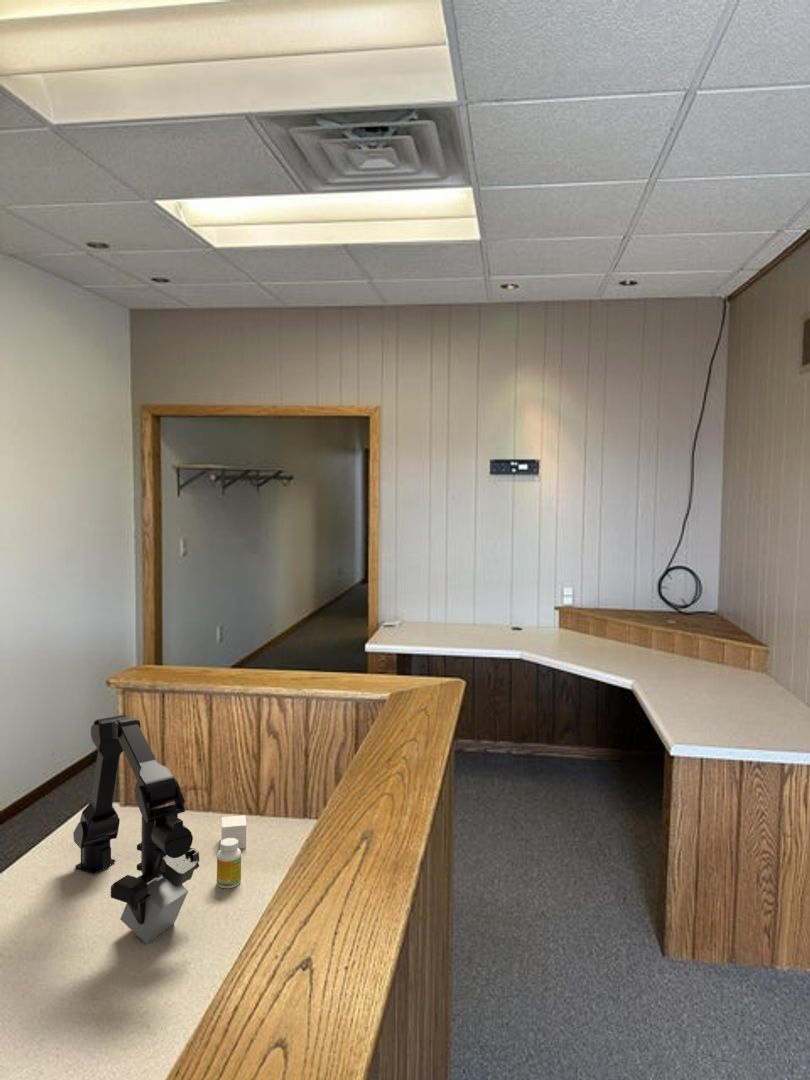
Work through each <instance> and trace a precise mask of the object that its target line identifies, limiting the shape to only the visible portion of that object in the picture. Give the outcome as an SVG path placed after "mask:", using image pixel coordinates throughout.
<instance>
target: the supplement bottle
mask: <svg viewBox="0 0 810 1080" xmlns="http://www.w3.org/2000/svg"><path fill="white" fill-rule="evenodd" d="M219 848H220V850H218V852H217V854H216V885H217V886H218V887H219V888H221V889H232V888H235V887H237V886H239V885H240V884H241V880H242V851H241V848H240V849H239V848H238V840H237V839H235V838H226V839H223V840H222V841H220V845H219ZM239 883H240V884H239Z"/></svg>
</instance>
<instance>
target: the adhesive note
mask: <svg viewBox="0 0 810 1080" xmlns="http://www.w3.org/2000/svg"><path fill="white" fill-rule="evenodd" d="M246 817H247V816H246V815H245V814H244V815H243V814H242V815H234V816H222V817H221V838H220V839H221V841H222V840H223V839H226V838H235V839H237V840H238V848H239V849H240V850H241V849H246V848H247V821H246V820H247V819H246ZM221 841H220V842H221Z"/></svg>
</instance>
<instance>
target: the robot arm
mask: <svg viewBox="0 0 810 1080" xmlns="http://www.w3.org/2000/svg"><path fill="white" fill-rule="evenodd" d="M90 737H91V741H92V743H93V744H94V746H95V748H96V750H97V755H96V763H95V768H94V769H95V771H94V779H93V785H92V792H91V800H90V802H89V804H88V805H87V806H86V807H85V808H84V809H83V810H82V812H81V816H80V819H79V822H78V823H77V825H76V827H75V829H74V831H73V833H72V834H73V842H74V843H75V845H77V846H78V848H79V849H80V862H79V863H77V864H76V865H75V866H74V868H75V869H77V868H78V870H80V869H81V870H80V871H83V870H84V871H83V872H86V871H87V872H86V873H89V872H91V873H90V874H92V873H96V872H97V873H99V872H101V871H102V870H101V869H103V868H104V869H106V868H108V867H109V866H108V865H110V864H112V863H113V864H115V863H116V859H114V858H112V847H111V840H113V839H117V838H118V834H119V827H120V821H121V820H120V818H119V814H118V813H117V811H116V809H115V807H114V806H113V803H114V796H115V790H116V784H117V778H118V770H119V766H120V765H119V764H120V757H121V754H122V753H124V756H125V757H126V759H127V761H128V764H129V766H130V767H131V770H132V772H133V775H134V776H135V780H136V783H135V787H134V790H133V791H134V798H135V801H136V804H137V807H138V808H139V812H140V815H141V842H140V843H138V844H136V850H137V851H140V852H141V853H140V854H141V856H140V858H141V859H140V861H141V862H139V863H137V864H136V870H137V871H140V872H141V875H139V876H138V877H135V876H132V875H130V874H126V875H125V876H122V878H120V879H118V880H117V881H115V882H113V883H112V884H111V886H110V898H111V899H114V900H118V901H120V902H123V903H126V904H128V905H129V907H130V909H131V911H132V913H133V915H134V916H135V918H136V920H137V922H138V924H141V925H142V924H143V923H144V918H145V902H146V900H147V899H148V898H149V897H150V896H151V895H150V894H147V892H148V885H147V884H149V883H151V882H152V881H154V880H155V879H157V878H159V877H160V876H163V877H164V878H166V879H167V880H168V881H170V882H171V884H172V885H173V886H176V887H179V886H181V885H184V883H186V882H187V881H190V880H191V879H192V876H193V874H194V871H195V870H197V869H198V868H200V864H199V862H200V852H199V850H198V849H196V848H193V847H191V846H192V844H193V840H194V837H193V834H192V831H191V830H190V829H189V828H188V827H186V826H185V825H184V820H182V818H179V816H178V815H179V814H182V813H185V812H186V809H185V805H184V804H186V801H185V797H184V795H183V792H182V790H181V786H180V784H179V782H178V780H177V779H176V778H175V777H174V775H173V774H172V771H170V769H169V767H167V766H164V765H163V764H160V763H159V762H158V761H157V758H156V757H155V755H154V753H153V751H152V748H151V747H150V745H149V742H148V741H147V739H146V737H145V735H144V733H143V731H142V728H141V722H140V720H139V718H138V717H135V716H133V717H128V715H126V714H118V715H115V716H109V717H104V718H98V719H96V720H94V721H93V724H92V725H91V727H90ZM171 803H173V804H171ZM168 804H171V805H168ZM164 805H167V806H164ZM114 862H115V863H114ZM113 864H112V865H113ZM107 866H108V867H107ZM110 866H111V865H110ZM105 867H106V868H105ZM104 869H103V870H104ZM100 870H101V871H100ZM98 871H99V872H98ZM97 873H96V874H97Z"/></svg>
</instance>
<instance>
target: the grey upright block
mask: <svg viewBox="0 0 810 1080" xmlns="http://www.w3.org/2000/svg"><path fill="white" fill-rule="evenodd" d="M147 885H148V892H147V894H150V895H151V896H150V897H149V898H148V899H147V900H146V902H145V918H144V923H143V924H142V925H141V924H138V922H137V920H136V918H135V916H134V915H133V913H132V911H131V909H130V907H129V905H128V904H127V903H126V904H125V907H124V909H123V912H122V914H121V917H120V918H119V919H120V921H121V922H122V923H123V924H124V925H126V926H127V927H128V928H129V929H130V930H131V931H132V932H133V933H134V934H135V936H137V937H138V938H140V940H142V941H143V942H144V943H145V945H148V944H149V943H150V941H151V942H152V941H153V940H154V938H155V939H156V938H157V937H158V935H159V936H160V935H162V932H163V933H164V932H166V931H167V930H168V929H170V928H171V927H173V926H174V925H175V923H176V921H177V918H178V917H179V914H180V912H181V909H182V906H183V905H184V902H185V900H186V897H187V895H188V893H189V889H188V888H186V887H185V886H184V884H182V885H181V886H179V887H176V886H173V885H172V884H171V882H170V881H168V880H167V879H166V878H164V877H163V876H160V877H159V878H157V879H155V880H154V881H152V882H151V883H149V884H147ZM173 924H174V925H173ZM170 926H171V927H170ZM169 927H170V928H169ZM166 929H167V930H166Z"/></svg>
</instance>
